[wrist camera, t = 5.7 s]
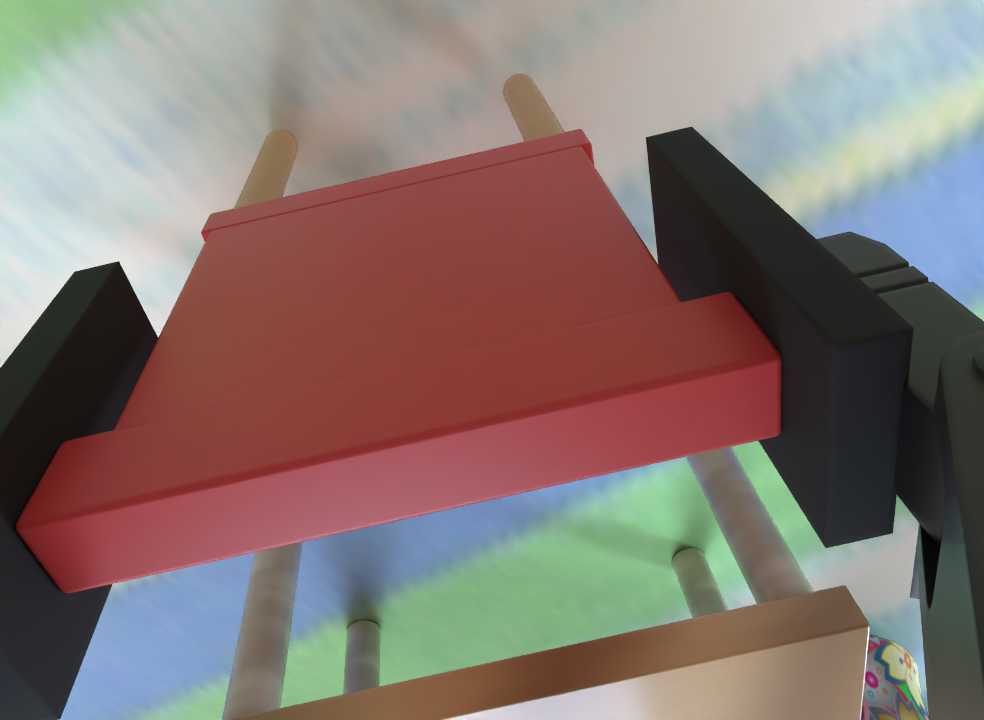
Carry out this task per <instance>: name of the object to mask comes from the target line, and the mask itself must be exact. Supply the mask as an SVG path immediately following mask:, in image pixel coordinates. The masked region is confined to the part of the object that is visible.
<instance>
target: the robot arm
mask: <svg viewBox="0 0 984 720" xmlns="http://www.w3.org/2000/svg"><path fill="white" fill-rule="evenodd" d="M646 143H647V153H648V164H649V174H650V184H651V194H652V204H653V214H654V225H655V235H656V245H657V255H658V265H659V267H660V269H661V270H662V272H663V273H664V275H665V276H666V278H667V279H668V281H669V282H670V284H671V286H672V287H673V289H674V290H675V292H676V293H677V295H678V296H679V298H680V299H681V301H682V302H684V301H689V300H693V299H698V298H702V297H706V296H711V295H715V294H720V293H724V292H731V293H733V294H734V295H735V296H736V297H737V299H738V300H739V301H740V303H741V304H742V305H743V306H744V308H745V309H746V310H747V312H748V313H749V314H750V315H751V317H752V318H753V319H754V321H755V322H756V323H757V324H758V326H759V327H760V328H761V330H762V331H763V332H764V333H765V335H766V336H767V337H768V339H769V340H770V341H771V342H772V344H773V345H774V346H775V348H776V349H777V350H778V351H779V353H780V355H781V358H782V373H781V433H780V434H779V435H777V436H776V437H771V438H767V439H762V440H758V441H759V442H760V444H761V445H762V447H763V449H764V450H765V452H766V453H767V455H768V457H769V458H770V460H771V461H772V463H773V465H774V466H775V468H776V469H777V471H778V473H779V474H780V476H781V477H782V479H783V481H784V482H785V484H786V485H787V487H788V489H789V490H790V492H791V493H792V495H793V497H794V498H795V500H796V501H797V503H798V505H799V506H800V508H801V509H802V511H803V513H804V514H805V516H806V517H807V519H808V521H809V522H810V524H811V525H812V527H813V529H814V530H815V532H816V533H817V535H818V537H819V538H820V540H821V541H822V543H823V545H824V546H825V548H829V547H833V546H838V545H842V544H847V543H851V542H856V541H860V540H865V539H869V538H874V537H878V536H883V535H887V534H892V533H893V525H894V515H895V505H896V495H898V497H899V498H900V499H901V500H902V502H903V503H904V504H905V505H906V507H907V508H908V509H909V511H910V512H911V513H912V514H913V516H914V517H915V518H916V519H917V521H918V522H919V531H918V538H917V546H916V554H915V562H914V570H913V578H912V585H911V593H910V597H911V598H919V599H920V609H921V622H922V635H923V648H924V660H925V673H926V686H927V699H928V712H929V720H984V322H983V321H982V320H981V319H980V318H978V317H977V316H976V315H975V314H973V313H972V312H971V311H970V310H968V309H967V308H966V307H964V306H963V305H962V304H961V303H959V302H958V301H957V300H956V299H954V298H953V297H952V296H950V295H949V294H948V293H947V292H945V291H944V290H943V289H942V288H940V287H939V286H938V285H936V284H935V283H934V282H929V281H928V277H926V276H925V275H924V274H923V273H921V272H920V271H919V270H917V269H916V268H915V267H914V266H911V267H909V264H908V262H907V261H906V260H905V259H903V258H902V257H901V256H900V255H898V254H897V253H896V252H895V251H893V250H892V249H891V248H890V247H888V246H887V245H886V244H884V243H881V242H878V241H875V240H872V239H869V238H866V237H864V236H861V235H858V234H855V233H852V232H846V233H842V234H837V235H833V236H829V237H824V238H820V239H815V238H814V237H813V236H812V235H811V234H810V233H809V232H807V231H806V230H805V229H804V228H803V227H802V226H801V225H800V224H799V223H797V222H796V221H795V220H794V219H793V218H792V217H791V216H790V215H789V214H788V213H786V212H785V211H784V210H783V209H782V208H781V207H780V206H779V205H778V204H776V203H775V202H774V201H773V200H772V199H771V198H770V197H769V196H768V195H767V194H765V193H764V192H763V191H762V190H761V189H760V188H759V187H758V186H757V185H755V184H754V183H753V182H752V181H751V180H750V179H749V178H748V177H747V176H746V175H744V174H743V173H742V172H741V171H740V170H739V169H738V168H737V167H736V166H735V165H733V164H732V163H731V162H730V161H729V160H728V159H727V158H726V157H725V156H723V155H722V154H721V153H720V152H719V151H718V150H717V149H716V148H715V147H714V146H712V145H711V144H710V143H709V142H708V141H707V140H706V139H705V138H704V137H702V136H701V135H700V134H699V133H698V132H697V131H696V130H695V129H694V128H693V127H688V128H684V129H680V130H675V131H671V132H667V133H663V134H658V135H654V136H650V137H646ZM157 340H158V337H157V335H156V333H155V331H154V329H153V327H152V325H151V323H150V321H149V319H148V317H147V315H146V313H145V312H144V310H143V308H142V306H141V304H140V302H139V300H138V298H137V296H136V294H135V292H134V290H133V288H132V286H131V284H130V282H129V280H128V278H127V276H126V274H125V272H124V271H123V269H122V267H121V265H120V263H119V261H118V262H114V263H110V264H106V265H101V266H97V267H93V268H89V269H84V270H80V271H76V272H74V273H73V274H72V276H71V277H70V278H69V280H68V281H67V282H66V284H65V285H64V286H63V287H62V289H61V290H60V291H59V293H58V294H57V295H56V297H55V298H54V299H53V300H52V302H51V303H50V304H49V306H48V307H47V308H46V310H45V311H44V312H43V313H42V315H41V316H40V317H39V319H38V320H37V321H36V323H35V324H34V325H33V326H32V328H31V329H30V330H29V332H28V333H27V334H26V336H25V337H24V338H23V339H22V341H21V342H20V343H19V345H18V346H17V347H16V349H15V350H14V351H13V352H12V354H11V355H10V356H9V358H8V359H7V360H6V362H5V363H4V364H3V365H2V367H1V368H0V720H57V719H60V718H61V716H62V713H63V710H64V708H65V705H66V703H67V700H68V698H69V695H70V692H71V690H72V687H73V685H74V682H75V679H76V677H77V674H78V672H79V669H80V667H81V664H82V661H83V659H84V656H85V654H86V651H87V648H88V646H89V643H90V641H91V638H92V635H93V633H94V630H95V628H96V625H97V623H98V620H99V617H100V615H101V612H102V610H103V607H104V604H105V602H106V599H107V597H108V594H109V591H110V589H111V586H112V584H109V585H104V586H100V587H95V588H91V589H86V590H82V591H77V592H73V593H64V592H62V591H60V589H59V588H58V587H57V585H56V584H55V582H54V581H53V580H52V578H51V577H50V576H49V574H48V573H47V572H46V570H45V569H44V568H43V566H42V565H41V563H40V562H39V561H38V559H37V558H36V557H35V555H34V554H33V553H32V551H31V550H30V548H29V547H28V546H27V544H26V543H25V542H24V540H23V539H22V538H21V536H20V535H19V534H18V532H17V530H16V522H17V520H18V519H19V517H20V515H21V513H22V512H23V510H24V508H25V506H26V505H27V503H28V501H29V499H30V497H31V496H32V494H33V492H34V490H35V489H36V487H37V485H38V483H39V482H40V480H41V478H42V476H43V475H44V473H45V471H46V469H47V467H48V466H49V464H50V462H51V460H52V459H53V457H54V455H55V453H56V452H57V450H58V448H59V446H60V445H61V444H62V443H64V442H66V441H68V440H72V439H77V438H81V437H85V436H90V435H94V434H99V433H103V432H108V431H112V430H114V428H115V426H116V424H117V422H118V420H119V418H120V416H121V414H122V412H123V410H124V408H125V406H126V404H127V402H128V400H129V398H130V395H131V393H132V391H133V389H134V387H135V385H136V383H137V381H138V379H139V377H140V375H141V373H142V371H143V369H144V367H145V365H146V363H147V361H148V359H149V357H150V355H151V352H152V350H153V348H154V346H155V344H156V342H157Z"/></svg>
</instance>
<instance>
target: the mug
mask: <svg viewBox="0 0 984 720" xmlns="http://www.w3.org/2000/svg"><path fill="white" fill-rule="evenodd" d="M861 720H929V715H928V712H927V710H926V707H925V704H924V701H923V697H922V694H921V689H920V682H919V671H918V667H917V664H916V662H915V660H914V658H913V657H912V656H911V655H910V653H909V652H907V651H906V650H905V649H904V648H903V647H901V646H900V645H898V644H896V643H894V642H892V641H889V640H887V639H884V638H880V637H875V636H869V640H868V650H867V661H866V671H865V681H864V691H863V701H862V712H861Z"/></svg>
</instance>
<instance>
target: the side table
mask: <svg viewBox="0 0 984 720" xmlns="http://www.w3.org/2000/svg"><path fill="white" fill-rule="evenodd" d="M685 457H686V459H687V461H688V463H689V465H690V467H691V469H692V471H693V473H694V475H695V477H696V479H697V482H698V484H699V486H700V488H701V490H702V492H703V494H704V496H705V498H706V500H707V502H708V504H709V506H710V508H711V510H712V512H713V514H714V516H715V518H716V521H717V523H718V525H719V527H720V529H721V531H722V533H723V535H724V537H725V539H726V541H727V543H728V545H729V547H730V549H731V551H732V553H733V555H734V557H735V560H736V562H737V564H738V566H739V568H740V570H741V572H742V574H743V576H744V578H745V580H746V582H747V584H748V586H749V588H750V590H751V592H752V594H753V597H754V599H755V601H756V603H757V604H756V605H752V606H747V607H743V608H738V609H733V610H728V607H727V605H726V603H725V601H724V598H723V596H722V594H721V592H720V589H719V587H718V585H717V583H716V580H715V578H714V576H713V574H712V571H711V569H710V567H709V565H708V563H707V560H706V558H705V556H704V554H703V552H702V551H700V550H699V549H695V548H688V549H684V550H682V551H680V552H678V553H677V554H676V555H675V556H674V557H673V560H672V566H673V569H674V572H675V574H676V577H677V579H678V582H679V584H680V587H681V589H682V592H683V594H684V597H685V600H686V602H687V605H688V607H689V610H690V612H691V615H692V617H693V618H692V619H688V620H683V621H678V622H674V623H669V624H665V625H660V626H655V627H651V628H646V629H642V630H637V631H632V632H628V633H623V634H619V635H614V636H610V637H605V638H600V639H596V640H591V641H587V642H582V643H577V644H573V645H568V646H564V647H559V648H555V649H550V650H545V651H541V652H536V653H532V654H527V655H522V656H518V657H513V658H509V659H504V660H500V661H495V662H490V663H486V664H481V665H477V666H472V667H468V668H463V669H458V670H454V671H449V672H445V673H440V674H435V675H431V676H426V677H422V678H417V679H412V680H408V681H403V682H399V683H394V684H390V685H385V686H380V628H379V626H378V625H377V624H376V623H374V622H372V621H367V620H362V621H357V622H355V623H353V624H351V625H350V626H349V628H348V630H347V639H346V656H345V673H344V690H343V695H339V696H335V697H330V698H325V699H321V700H316V701H312V702H307V703H302V704H298V705H293V706H289V707H284V708H280V707H281V699H282V691H283V684H284V676H285V669H286V661H287V654H288V646H289V639H290V631H291V624H292V616H293V609H294V601H295V594H296V586H297V579H298V571H299V563H300V556H301V548H302V542H298V543H293V544H289V545H284V546H280V547H275V548H271V549H266V550H262V551H257V552H255V556H254V561H253V566H252V571H251V576H250V581H249V586H248V591H247V596H246V601H245V606H244V611H243V616H242V621H241V626H240V631H239V636H238V641H237V646H236V651H235V656H234V661H233V666H232V671H231V676H230V681H229V687H228V692H227V697H226V702H225V707H224V712H223V717H222V720H861V712H862V701H863V691H864V681H865V671H866V661H867V650H868V640H869V630H870V625H869V623H868V621H867V620H866V618H865V616H864V615H863V613H862V612H861V610H860V608H859V607H858V605H857V604H856V602H855V600H854V599H853V597H852V596H851V594H850V592H849V591H848V589H847V587H846V586H839V587H834V588H830V589H825V590H820V591H816V592H814V591H813V589H812V587H811V586H810V584H809V582H808V580H807V579H806V577H805V575H804V573H803V572H802V570H801V568H800V566H799V565H798V563H797V561H796V559H795V558H794V556H793V554H792V552H791V551H790V549H789V547H788V545H787V544H786V542H785V540H784V538H783V537H782V535H781V533H780V531H779V530H778V528H777V526H776V524H775V523H774V521H773V519H772V518H771V516H770V514H769V512H768V511H767V509H766V507H765V505H764V504H763V502H762V500H761V498H760V497H759V495H758V493H757V491H756V490H755V488H754V486H753V484H752V483H751V481H750V479H749V477H748V476H747V474H746V472H745V470H744V469H743V467H742V465H741V463H740V462H739V460H738V458H737V456H736V455H735V453H734V451H733V449H732V448H731V447H726V448H722V449H717V450H713V451H708V452H703V453H699V454H694V455H690V456H685Z"/></svg>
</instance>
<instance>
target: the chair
mask: <svg viewBox="0 0 984 720" xmlns="http://www.w3.org/2000/svg"><path fill="white" fill-rule="evenodd" d="M503 94H504V97H505V100H506V102H507V104H508V106H509V108H510V111H511V113H512V115H513V117H514V119H515V121H516V124H517V126H518V128H519V130H520V132H521V134H522V137H523V139H524V141H525V142H522V143H518V144H513V145H509V146H505V147H500V148H496V149H491V150H487V151H483V152H478V153H474V154H470V155H465V156H461V157H457V158H452V159H448V160H444V161H439V162H435V163H431V164H426V165H422V166H418V167H413V168H409V169H405V170H400V171H396V172H391V173H387V174H383V175H378V176H374V177H370V178H365V179H361V180H357V181H352V182H348V183H344V184H339V185H335V186H331V187H326V188H322V189H318V190H313V191H309V192H305V193H300V194H296V195H291V196H287V197H283V193H284V190H285V187H286V184H287V181H288V178H289V175H290V172H291V169H292V166H293V163H294V160H295V157H296V154H297V150H298V145H297V141H296V139H295V138H294V136H293V135H292V134H290V133H289V132H287V131H284V130H275V131H272V132H271V133H269V134H268V135H267V137H266V139H265V141H264V143H263V146H262V148H261V150H260V152H259V154H258V157H257V159H256V161H255V163H254V165H253V168H252V170H251V172H250V174H249V176H248V179H247V181H246V183H245V185H244V187H243V190H242V192H241V194H240V196H239V198H238V201H237V203H236V205H235V207H234V209H231V210H226V211H222V212H218V213H213V214H211V215H210V216H209V218H208V220H207V222H206V224H205V226H204V228H203V230H202V232H201V234H202V236H203V239H204V241H205V244H204V246H203V248H202V250H201V252H200V254H199V256H198V258H197V260H196V262H195V264H194V266H193V268H192V271H191V273H190V275H189V277H188V279H187V281H186V283H185V285H184V287H183V289H182V291H181V293H180V295H179V297H178V299H177V301H176V303H175V305H174V307H173V309H172V311H171V314H170V316H169V318H168V320H167V322H166V324H165V326H164V328H163V330H162V332H161V334H160V336H159V338H158V340H157V342H156V344H155V346H154V348H153V350H152V352H151V355H150V357H149V359H148V361H147V363H146V365H145V367H144V369H143V371H142V373H141V375H140V377H139V379H138V381H137V383H136V385H135V387H134V389H133V391H132V393H131V395H130V398H129V400H128V402H127V404H126V406H125V408H124V410H123V412H122V414H121V416H120V418H119V420H118V422H117V424H116V426H115V428H114V430H112V431H108V432H103V433H99V434H94V435H90V436H85V437H81V438H77V439H72V440H68V441H66V442H64V443H62V444H61V445H60V446H59V448H58V450H57V452H56V453H55V455H54V457H53V459H52V460H51V462H50V464H49V466H48V467H47V469H46V471H45V473H44V475H43V476H42V478H41V480H40V482H39V483H38V485H37V487H36V489H35V490H34V492H33V494H32V496H31V497H30V499H29V501H28V503H27V505H26V506H25V508H24V510H23V512H22V513H21V515H20V517H19V519H18V520H17V522H16V530H17V532H18V534H19V535H20V536H21V538H22V539H23V540H24V542H25V543H26V544H27V546H28V547H29V548H30V550H31V551H32V553H33V554H34V555H35V557H36V558H37V559H38V561H39V562H40V563H41V565H42V566H43V568H44V569H45V570H46V572H47V573H48V574H49V576H50V577H51V578H52V580H53V581H54V582H55V584H56V585H57V587H58V588H59V589H60V591H62V592H64V593H73V592H77V591H82V590H86V589H91V588H95V587H100V586H104V585H109V584H113V583H118V582H122V581H127V580H131V579H136V578H140V577H145V576H149V575H154V574H158V573H163V572H167V571H172V570H176V569H181V568H185V567H190V566H194V565H199V564H203V563H208V562H212V561H217V560H221V559H226V558H230V557H235V556H239V555H244V554H248V553H253V552H257V551H262V550H266V549H271V548H275V547H280V546H284V545H289V544H293V543H298V542H302V541H307V540H311V539H316V538H320V537H325V536H329V535H334V534H338V533H343V532H348V531H352V530H357V529H361V528H366V527H370V526H375V525H379V524H384V523H388V522H393V521H397V520H402V519H406V518H411V517H415V516H420V515H424V514H429V513H433V512H438V511H442V510H447V509H451V508H456V507H460V506H465V505H469V504H474V503H478V502H483V501H487V500H492V499H496V498H501V497H505V496H510V495H514V494H519V493H523V492H528V491H532V490H537V489H541V488H546V487H550V486H555V485H559V484H564V483H568V482H573V481H577V480H582V479H586V478H591V477H595V476H600V475H604V474H609V473H613V472H618V471H622V470H627V469H631V468H636V467H640V466H645V465H649V464H654V463H658V462H663V461H667V460H672V459H676V458H681V457H685V456H690V455H694V454H699V453H703V452H708V451H713V450H717V449H722V448H726V447H731V446H735V445H740V444H744V443H749V442H753V441H758V440H762V439H767V438H771V437H776V436H777V435H779V434H780V433H781V373H782V358H781V355H780V353H779V351H778V350H777V349H776V348H775V346H774V345H773V344H772V342H771V341H770V340H769V339H768V337H767V336H766V335H765V333H764V332H763V331H762V330H761V328H760V327H759V326H758V324H757V323H756V322H755V321H754V319H753V318H752V317H751V315H750V314H749V313H748V312H747V310H746V309H745V308H744V306H743V305H742V304H741V303H740V301H739V300H738V299H737V297H736V296H735V295H734V294H733V293H731V292H724V293H720V294H715V295H711V296H706V297H702V298H698V299H693V300H689V301H684V302H682V301H681V299H680V298H679V296H678V295H677V293H676V292H675V290H674V289H673V287H672V286H671V284H670V282H669V281H668V279H667V278H666V276H665V275H664V273H663V272H662V270H661V269H660V267H659V266H658V264H657V262H656V261H655V259H654V258H653V256H652V255H651V253H650V252H649V250H648V249H647V247H646V246H645V244H644V242H643V241H642V239H641V238H640V236H639V235H638V233H637V232H636V230H635V229H634V227H633V225H632V224H631V222H630V221H629V219H628V218H627V216H626V215H625V213H624V212H623V210H622V209H621V207H620V205H619V204H618V202H617V201H616V199H615V198H614V196H613V195H612V193H611V192H610V190H609V188H608V187H607V185H606V184H605V182H604V181H603V179H602V178H601V176H600V175H599V173H598V172H597V170H596V168H595V167H594V160H593V153H592V145H591V143H590V141H589V140H588V138H587V137H586V135H585V134H584V133H583V131H582V130H581V129H578V130H574V131H570V132H564V130H563V128H562V127H561V125H560V124H559V122H558V120H557V119H556V117H555V116H554V114H553V112H552V111H551V109H550V108H549V106H548V104H547V103H546V101H545V100H544V98H543V96H542V95H541V93H540V91H539V90H538V88H537V87H536V85H535V83H534V82H533V80H532V79H531V78H530V77H529V76H527V75H524V74H516V75H513V76H511V77H510V78H509V79H508V80H507V81H506V83H505V85H504V88H503ZM282 197H283V198H282Z"/></svg>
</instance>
